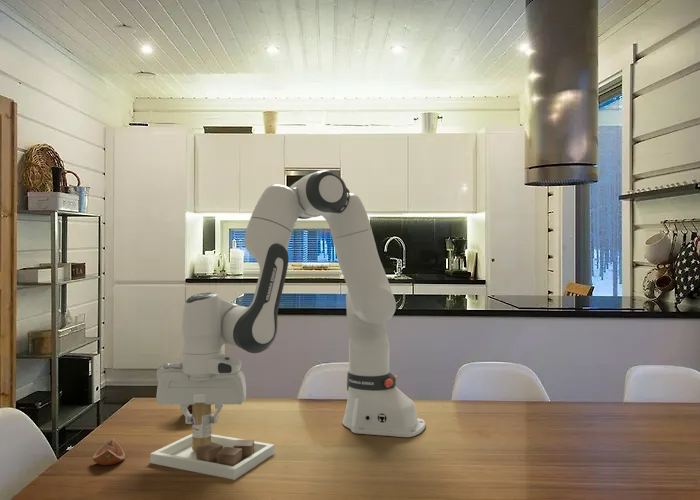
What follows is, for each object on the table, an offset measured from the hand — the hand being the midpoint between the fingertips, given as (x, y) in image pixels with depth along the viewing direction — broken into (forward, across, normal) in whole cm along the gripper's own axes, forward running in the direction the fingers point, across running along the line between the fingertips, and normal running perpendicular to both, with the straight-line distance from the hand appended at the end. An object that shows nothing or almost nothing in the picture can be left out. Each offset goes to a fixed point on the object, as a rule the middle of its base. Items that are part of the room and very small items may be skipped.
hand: (201, 422), depth 133 cm
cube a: (+7, +8, -10) cm, 15 cm away
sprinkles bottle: (+6, 0, 0) cm, 6 cm away
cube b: (+7, +4, -8) cm, 11 cm away
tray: (+8, +4, -4) cm, 9 cm away
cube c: (+7, +11, -6) cm, 14 cm away
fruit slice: (+8, -19, -6) cm, 21 cm away
